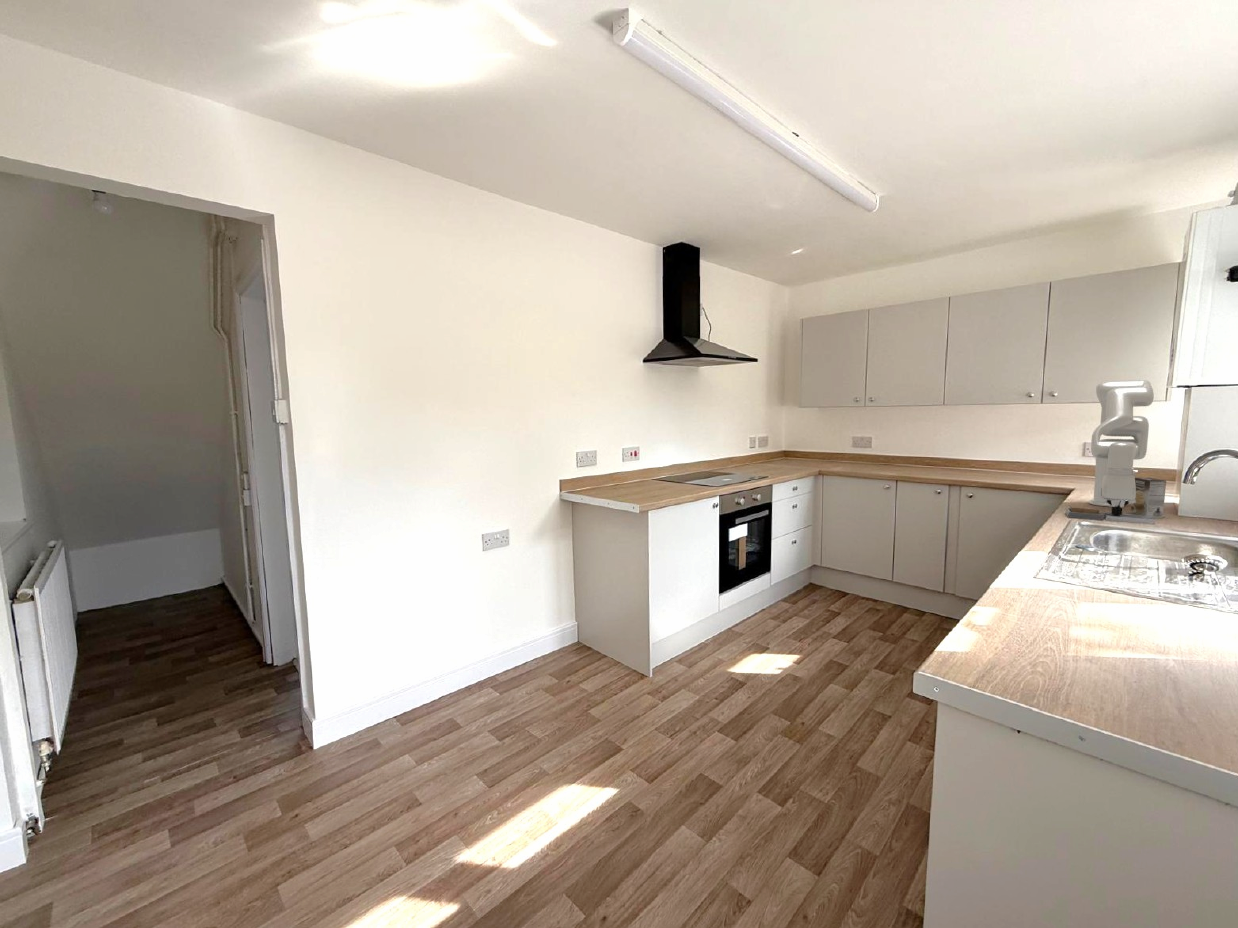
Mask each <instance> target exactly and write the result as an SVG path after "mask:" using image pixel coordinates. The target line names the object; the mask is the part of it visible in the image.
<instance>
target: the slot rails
mask: <svg viewBox="0 0 1238 928" xmlns="http://www.w3.org/2000/svg"><path fill="white" fill-rule="evenodd" d="M1101 514H1103V518H1104V519H1105V521H1112V522H1113V521H1114V522H1125V523H1136V524H1138V523H1139V524H1147V525H1148V524H1150V525H1152V524H1153V525H1155V522H1156V520H1155V519H1156V518H1150V516H1149V515H1135V514H1130V513H1122V515H1120V516H1113V514H1111V512H1104V511H1103V512H1101Z"/></svg>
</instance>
